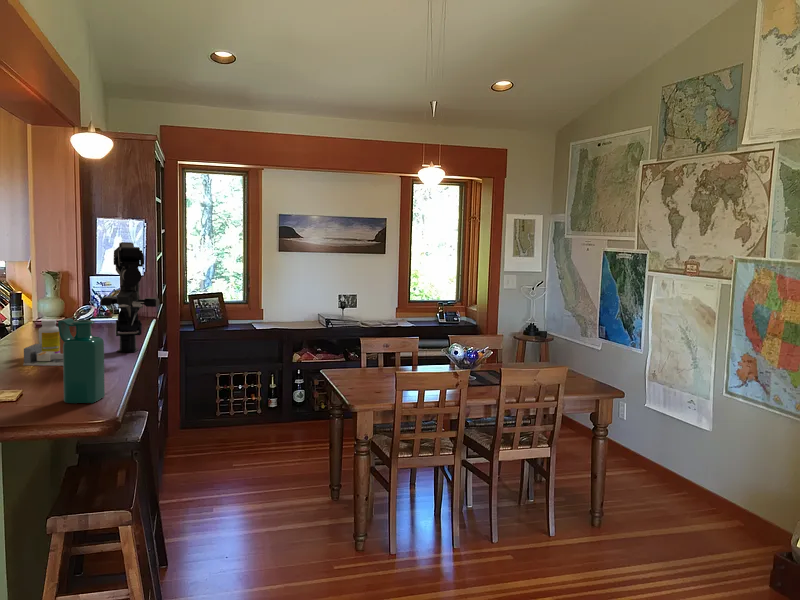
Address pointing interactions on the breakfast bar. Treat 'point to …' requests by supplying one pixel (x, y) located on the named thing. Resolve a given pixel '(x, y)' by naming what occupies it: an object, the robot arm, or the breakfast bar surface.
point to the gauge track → (31, 357)
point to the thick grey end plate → (48, 356)
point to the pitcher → (82, 362)
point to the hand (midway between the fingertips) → (130, 325)
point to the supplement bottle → (49, 336)
